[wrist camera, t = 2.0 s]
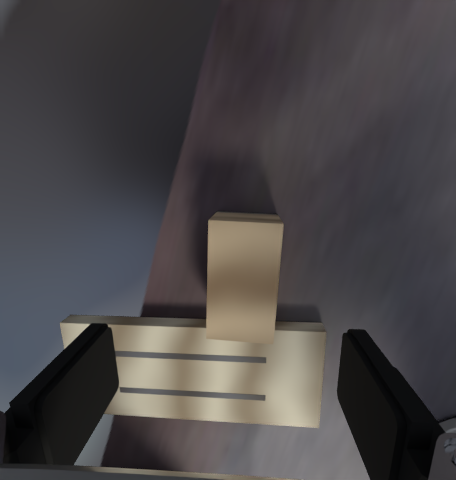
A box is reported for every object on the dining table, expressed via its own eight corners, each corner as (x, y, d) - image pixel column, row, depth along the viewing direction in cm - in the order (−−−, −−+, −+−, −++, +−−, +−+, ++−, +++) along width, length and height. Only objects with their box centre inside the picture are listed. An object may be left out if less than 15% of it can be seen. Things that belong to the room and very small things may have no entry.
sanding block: (217, 210, 23) (208, 220, 18) (276, 213, 22) (283, 223, 18) (215, 307, 25) (206, 338, 20) (268, 311, 25) (273, 344, 20)
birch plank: (321, 322, 24) (326, 332, 23) (315, 414, 26) (318, 428, 25) (70, 314, 26) (59, 323, 25) (84, 399, 29) (75, 412, 27)
